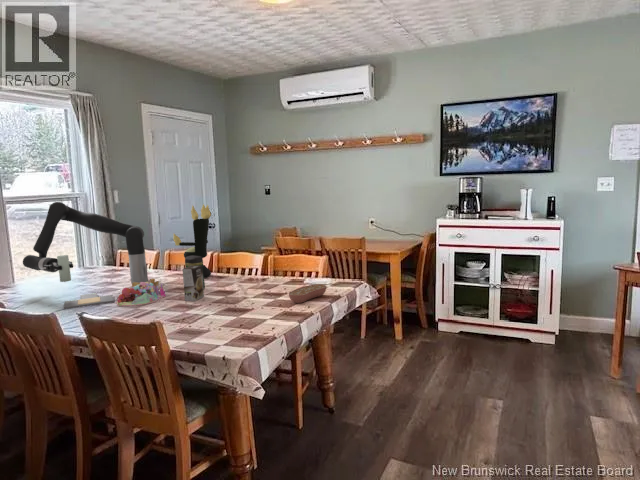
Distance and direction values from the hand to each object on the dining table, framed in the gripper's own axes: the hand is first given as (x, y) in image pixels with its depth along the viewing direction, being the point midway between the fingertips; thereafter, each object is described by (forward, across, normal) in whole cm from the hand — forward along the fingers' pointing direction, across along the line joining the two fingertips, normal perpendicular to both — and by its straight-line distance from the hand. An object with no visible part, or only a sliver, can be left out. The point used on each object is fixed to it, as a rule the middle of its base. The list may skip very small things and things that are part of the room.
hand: (66, 266), depth 231 cm
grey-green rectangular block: (-3, 0, +8) cm, 8 cm away
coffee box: (+60, +30, +18) cm, 69 cm away
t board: (+11, +3, +17) cm, 21 cm away
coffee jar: (+45, +44, +18) cm, 65 cm away
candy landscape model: (+34, +18, +18) cm, 42 cm away
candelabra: (+22, +67, +18) cm, 73 cm away
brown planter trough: (+112, +52, +18) cm, 125 cm away
